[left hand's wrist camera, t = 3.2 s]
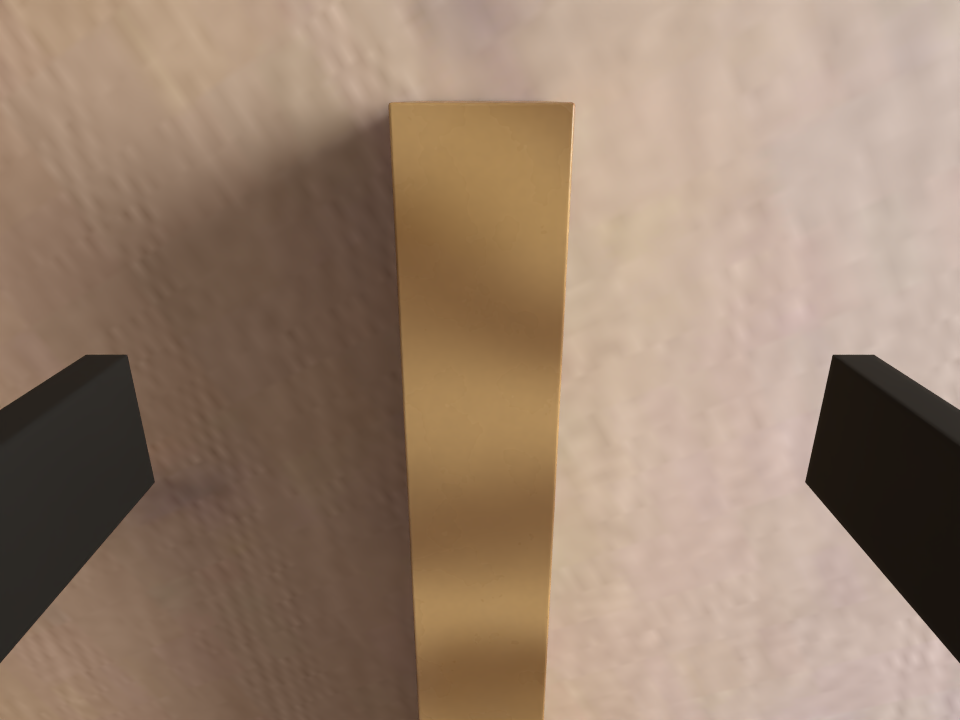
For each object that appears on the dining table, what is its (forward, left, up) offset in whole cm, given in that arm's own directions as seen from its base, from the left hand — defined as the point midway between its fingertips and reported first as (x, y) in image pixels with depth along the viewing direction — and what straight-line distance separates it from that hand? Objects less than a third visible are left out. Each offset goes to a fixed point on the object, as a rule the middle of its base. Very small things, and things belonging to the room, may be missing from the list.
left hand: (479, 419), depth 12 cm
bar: (+21, 0, -13) cm, 24 cm away
